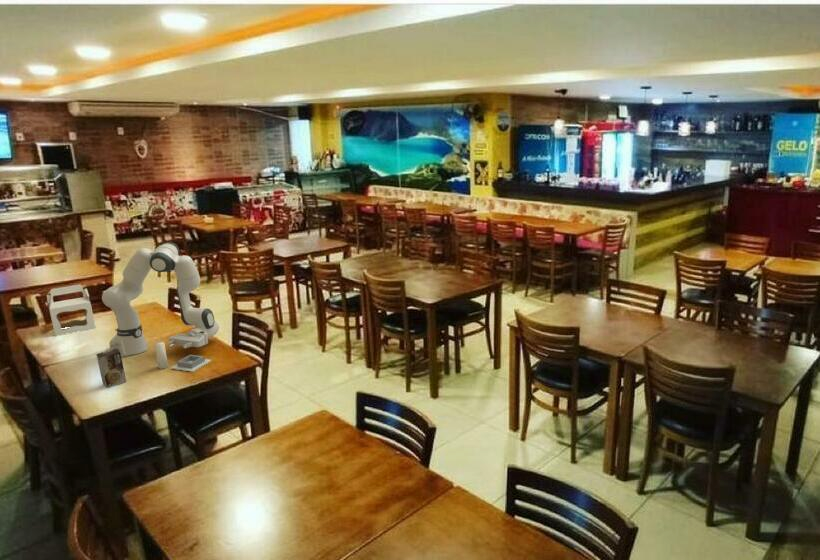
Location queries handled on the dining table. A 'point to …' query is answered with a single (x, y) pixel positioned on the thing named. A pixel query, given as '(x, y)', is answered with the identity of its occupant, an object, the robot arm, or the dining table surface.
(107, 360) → the coffee box
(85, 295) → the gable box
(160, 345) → the peg
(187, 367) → the socket
